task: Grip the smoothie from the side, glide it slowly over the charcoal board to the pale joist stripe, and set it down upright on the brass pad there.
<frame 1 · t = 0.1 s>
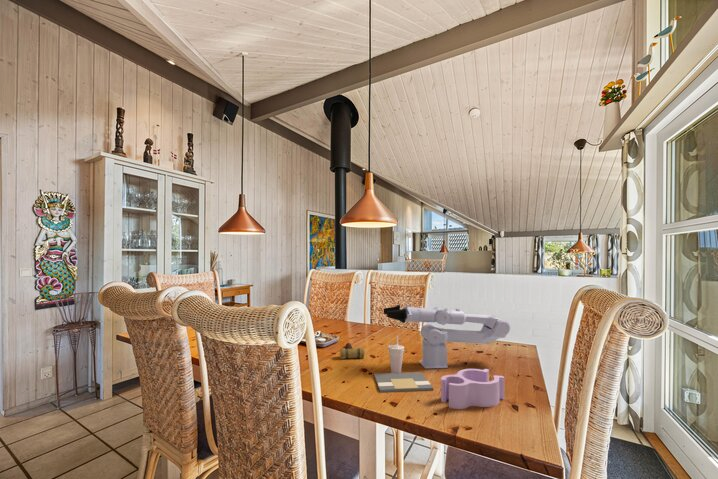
hand: (385, 312, 129), 22 cm above the table, tool horizontal, fingers open, 7 cm apart
gavel: (350, 353, 146), on the table
clip: (471, 400, 100), on the table
smoothie: (396, 372, 122), on the table
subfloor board: (402, 382, 112), on the table
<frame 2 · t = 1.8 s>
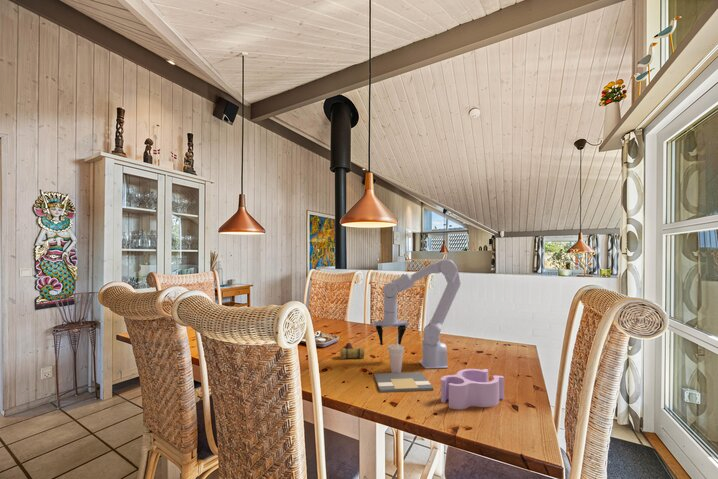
hand: (390, 343, 133), 8 cm above the table, tool pointing down, fingers open, 7 cm apart
nothing on the table moved.
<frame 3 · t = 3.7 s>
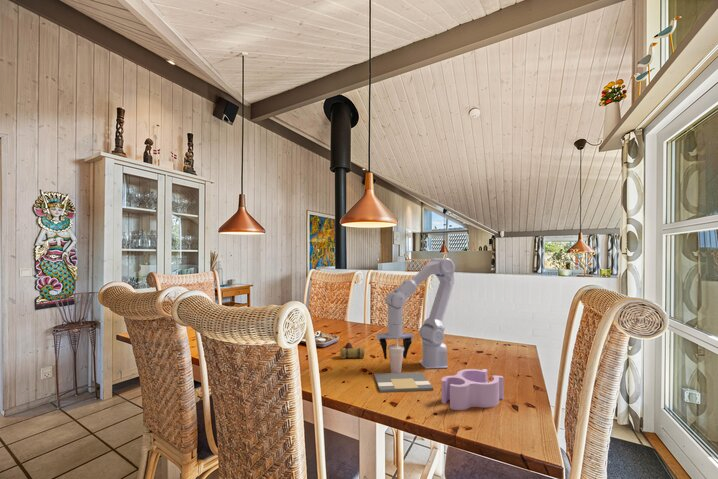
hand: (395, 357, 124), 5 cm above the table, tool pointing down, fingers open, 7 cm apart
nothing on the table moved.
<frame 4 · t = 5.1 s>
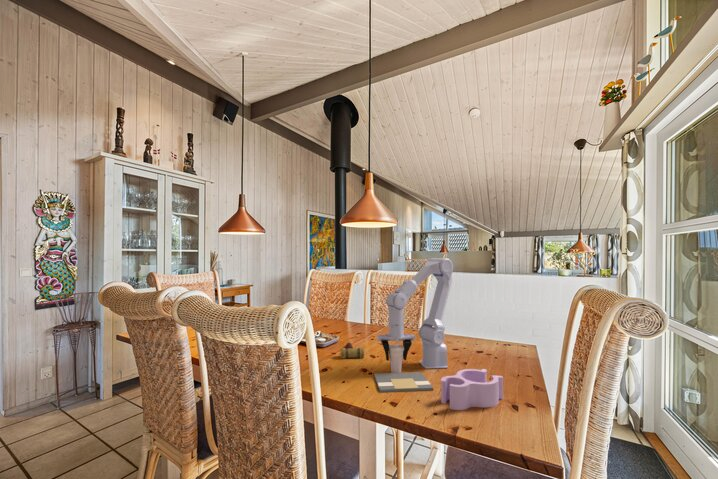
hand: (396, 359, 122), 5 cm above the table, tool pointing down, fingers closed on smoothie, 6 cm apart
smoothie: (396, 372, 122), on the table, touching gripper
everything else where it was.
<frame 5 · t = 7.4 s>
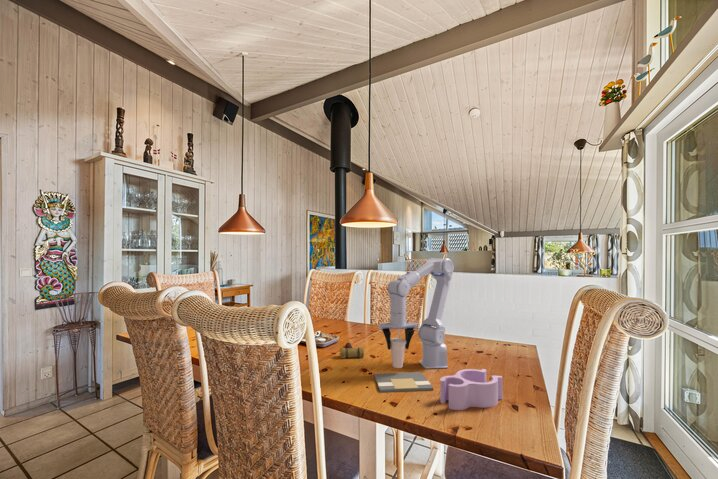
hand: (397, 348, 119), 10 cm above the table, tool pointing down, fingers closed on smoothie, 6 cm apart
smoothie: (397, 366, 119), point 3 cm above the table, touching gripper
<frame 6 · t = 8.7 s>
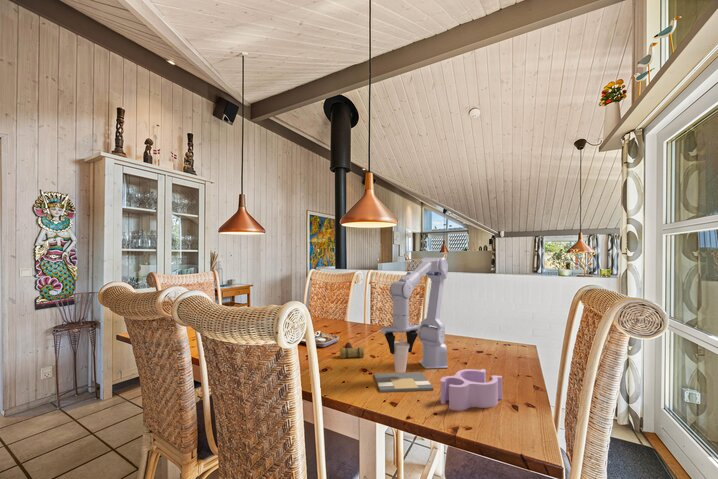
hand: (400, 352, 115), 10 cm above the table, tool pointing down, fingers closed on smoothie, 6 cm apart
smoothie: (400, 371, 115), point 3 cm above the table, touching gripper
when the fingers open (6 cm above the table, at t = 12.2 s): smoothie stays where it is, resting on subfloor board.
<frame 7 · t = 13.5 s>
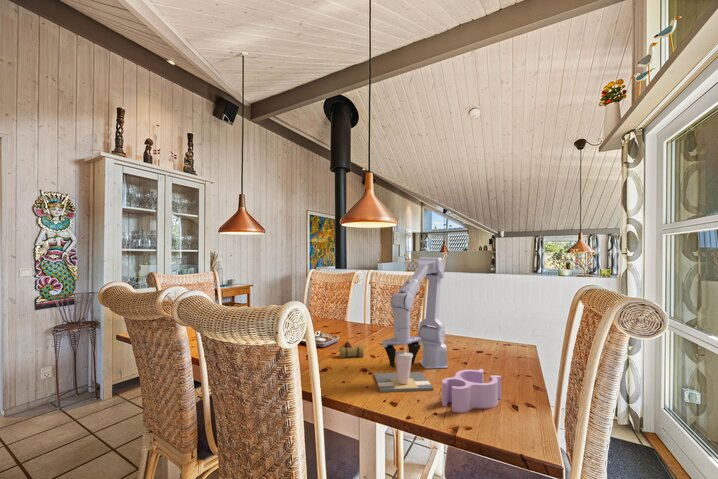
hand: (402, 365, 113), 6 cm above the table, tool pointing down, fingers open, 7 cm apart
smoothie: (403, 382, 110), point 1 cm above the table, touching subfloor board
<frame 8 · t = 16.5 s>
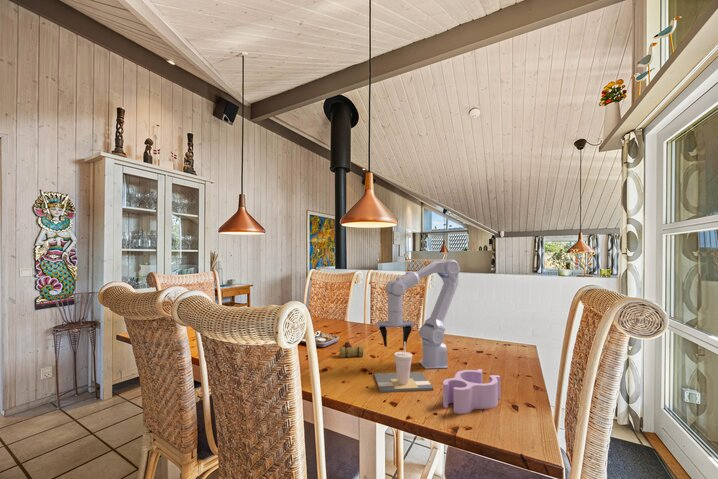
hand: (395, 345, 124), 9 cm above the table, tool pointing down, fingers open, 7 cm apart
at the end: smoothie 0.5 cm from the target spot, point 0.8 cm above the table; smoothie tilted 0°; the gripper is holding nothing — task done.
